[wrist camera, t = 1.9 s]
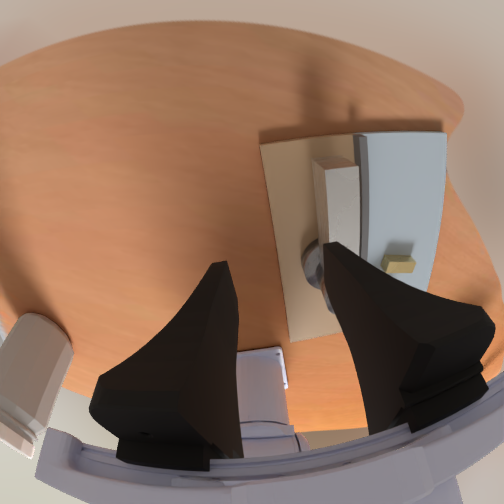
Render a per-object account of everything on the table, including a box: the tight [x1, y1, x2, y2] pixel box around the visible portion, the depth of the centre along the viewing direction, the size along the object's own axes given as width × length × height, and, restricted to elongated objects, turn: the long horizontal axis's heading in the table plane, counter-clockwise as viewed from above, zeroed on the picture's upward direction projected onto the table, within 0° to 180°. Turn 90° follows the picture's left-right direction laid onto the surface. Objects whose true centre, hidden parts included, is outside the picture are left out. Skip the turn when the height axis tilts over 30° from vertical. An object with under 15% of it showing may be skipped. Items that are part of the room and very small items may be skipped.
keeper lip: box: [380, 254, 417, 273], centre depth 22 cm, size 3×1×1 cm, turn 86°
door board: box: [259, 131, 447, 343], centre depth 22 cm, size 20×16×2 cm
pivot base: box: [301, 238, 321, 290], centre depth 22 cm, size 4×4×2 cm
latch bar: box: [311, 155, 360, 314], centre depth 17 cm, size 10×3×4 cm, turn 10°
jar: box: [0, 313, 74, 459], centre depth 21 cm, size 10×10×18 cm
